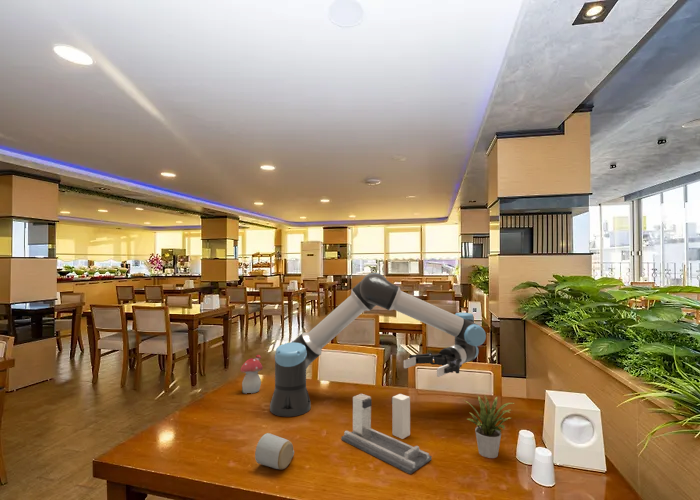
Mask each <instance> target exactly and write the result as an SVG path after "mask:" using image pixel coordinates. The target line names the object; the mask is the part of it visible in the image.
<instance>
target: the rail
mask: <svg viewBox="0 0 700 500" xmlns="http://www.w3.org/2000/svg"><path fill="white" fill-rule="evenodd" d="M341 441H342V442H344V443H346V444H348V445H351V446H353V447H355V448H357V449H358V450H361V451H363V452H365V453H367V454H368V455H371V456H373V457H374V458H377V459H379V460H381V462H382V461H383V462H385V463H386V464H388V465H391V466H393V467H395V468H396V469H399V470H400V471H403V472H404V473H406V474H408V475H411V474H413V473H414V472H416V471H417V470H419V469H420V468H421V467H422V468H423V466H425V465H426V464H428V463H429V462H430V461H432V455H430V453H429V452H427V451H424V450H422V449H420V446H418V445H414V446H413V445H410V444H408V443H406V442H403V441H402V440H399V439H396V438H394V437H391V436H390V435H387V434H385V433H383V432H381V431H377V430H375V429H373V428H372V396H370V395H367V394H363V393H359V394H357V395H354V396H352V431H349V430H345V431H344V433H343V435H342V436H341Z"/></svg>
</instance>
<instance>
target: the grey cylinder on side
mask: <svg viewBox="0 0 700 500" xmlns="http://www.w3.org/2000/svg"><path fill="white" fill-rule="evenodd" d="M254 454H255V455H254V458H255V459H254V460H255V461H256V463H257V464H259V465H262V466H265V467H270V468H272V469H275V470H284V469H286V468H287V467H288V466H289V464H290V463H291V461H292V459H293V457H294V455H295V450H294V446H293V443H292V442H291V441H290V440H288V439H286V438H283V437H281V436H278V435H275V434H272V433H270V432H267V433H265V434H263V435H262V436H261V437H260V439H259V440H258V442H257V444H256V448H255V453H254Z"/></svg>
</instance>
